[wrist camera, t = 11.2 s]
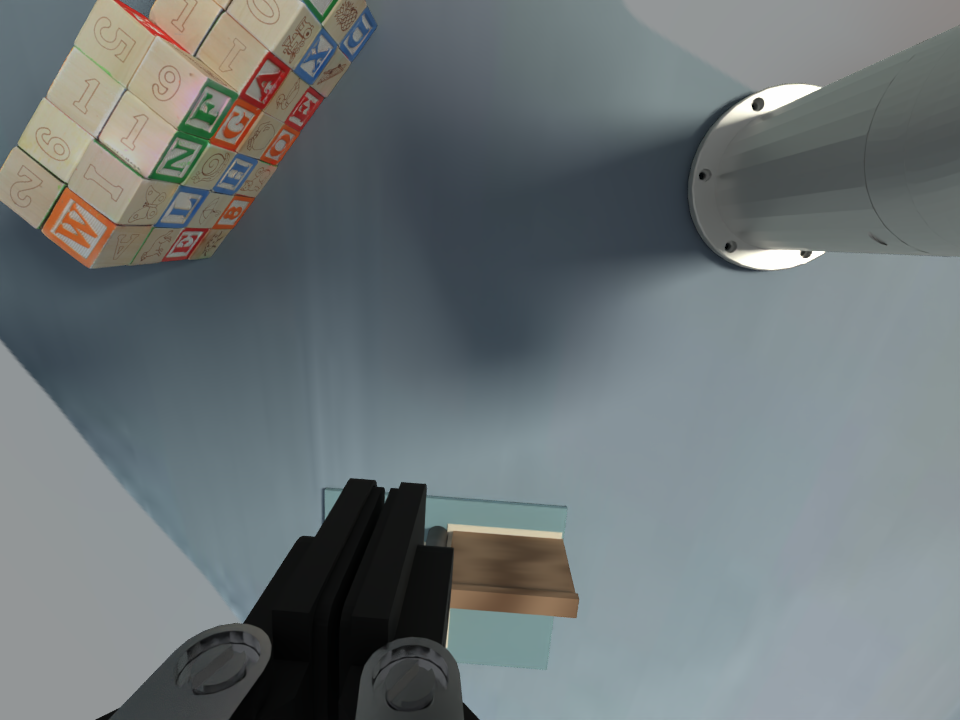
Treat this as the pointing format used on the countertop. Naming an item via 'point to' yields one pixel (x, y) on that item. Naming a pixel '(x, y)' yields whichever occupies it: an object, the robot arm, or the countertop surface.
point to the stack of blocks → (174, 122)
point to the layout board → (489, 631)
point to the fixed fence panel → (509, 573)
